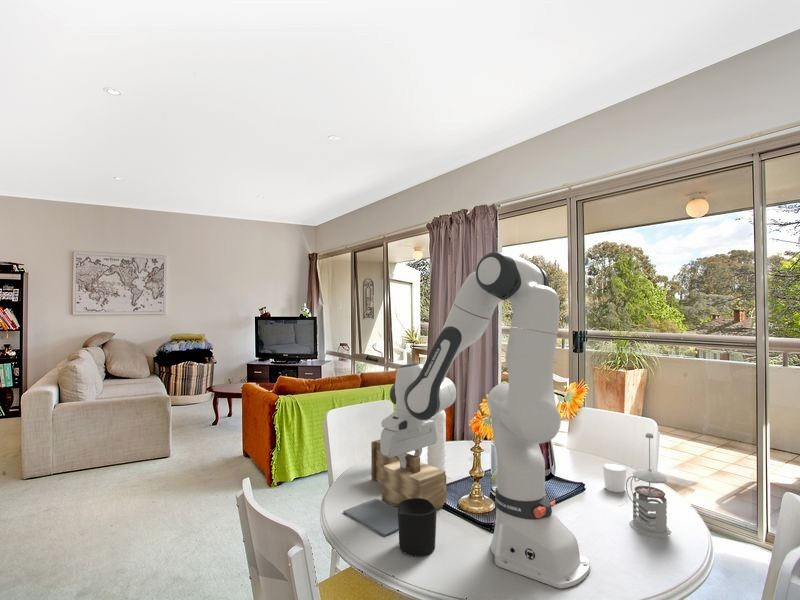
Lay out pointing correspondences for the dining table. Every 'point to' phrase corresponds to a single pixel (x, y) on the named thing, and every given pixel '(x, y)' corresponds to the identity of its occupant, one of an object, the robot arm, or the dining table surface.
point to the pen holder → (417, 526)
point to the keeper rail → (379, 462)
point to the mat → (376, 516)
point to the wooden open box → (412, 490)
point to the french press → (649, 521)
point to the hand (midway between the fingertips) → (410, 465)
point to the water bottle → (438, 444)
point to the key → (378, 445)
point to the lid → (414, 470)
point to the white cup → (614, 477)
